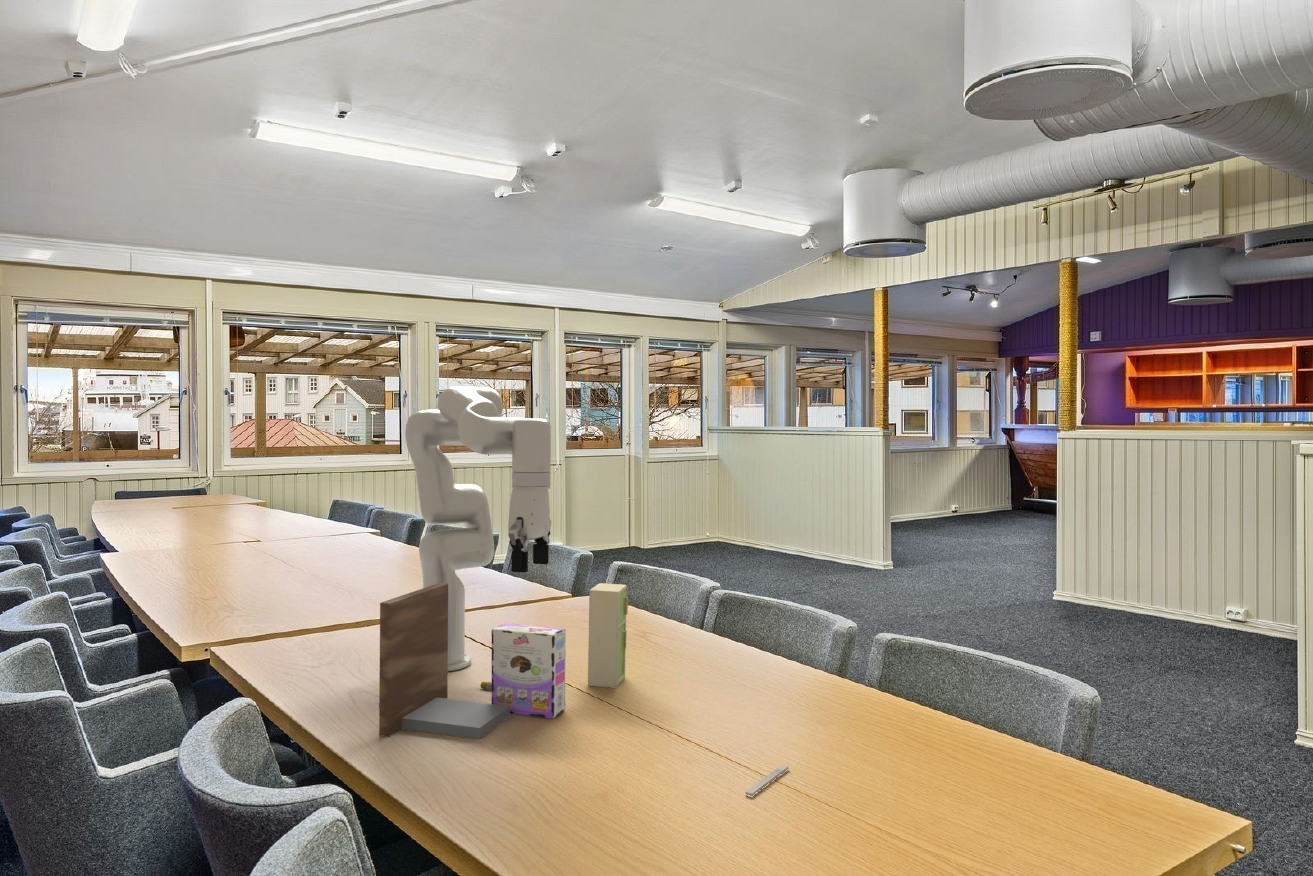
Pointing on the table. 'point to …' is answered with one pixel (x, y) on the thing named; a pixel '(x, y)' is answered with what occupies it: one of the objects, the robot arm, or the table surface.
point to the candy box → (529, 669)
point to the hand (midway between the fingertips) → (530, 567)
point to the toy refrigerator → (607, 634)
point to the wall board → (412, 654)
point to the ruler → (766, 780)
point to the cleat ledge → (456, 717)
